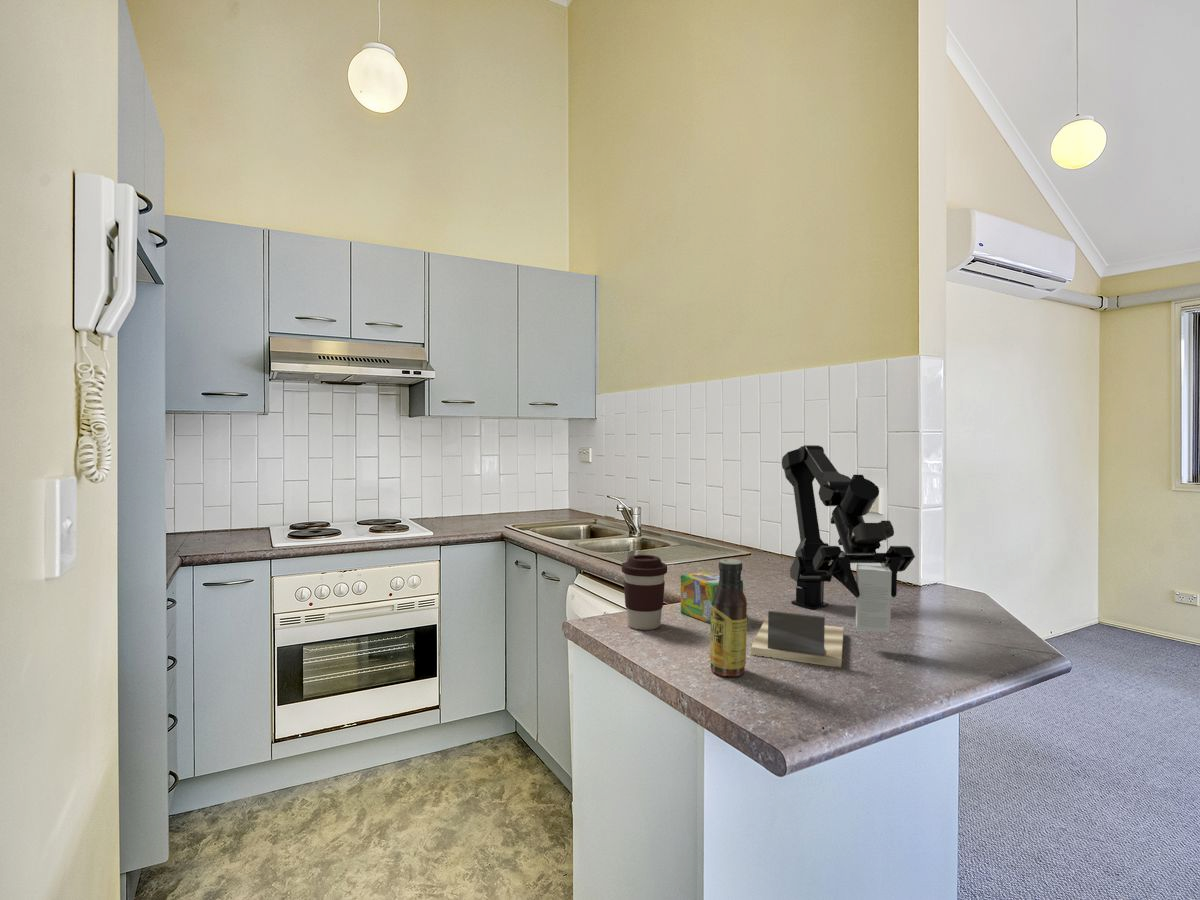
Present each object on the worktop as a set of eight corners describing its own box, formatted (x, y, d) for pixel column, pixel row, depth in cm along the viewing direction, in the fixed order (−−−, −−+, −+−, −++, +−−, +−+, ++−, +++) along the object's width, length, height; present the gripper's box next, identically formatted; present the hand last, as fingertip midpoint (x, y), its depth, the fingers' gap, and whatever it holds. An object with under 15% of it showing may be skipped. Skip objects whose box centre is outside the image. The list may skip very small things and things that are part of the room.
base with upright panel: (765, 624, 136) (765, 586, 135) (843, 634, 129) (844, 594, 129) (751, 654, 117) (751, 610, 117) (841, 667, 111) (842, 621, 111)
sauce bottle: (705, 665, 111) (707, 556, 111) (739, 664, 112) (740, 556, 111) (715, 680, 105) (716, 564, 104) (751, 679, 105) (752, 564, 105)
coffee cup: (653, 635, 128) (654, 564, 127) (612, 627, 133) (613, 558, 133) (674, 623, 136) (674, 556, 136) (634, 616, 141) (635, 551, 141)
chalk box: (679, 574, 144) (724, 587, 131) (708, 570, 149) (754, 582, 136) (679, 614, 144) (724, 630, 132) (708, 608, 149) (754, 623, 136)
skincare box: (887, 627, 121) (889, 566, 120) (890, 633, 117) (892, 571, 116) (854, 623, 123) (856, 563, 122) (856, 630, 119) (857, 568, 118)
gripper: (819, 505, 122) (842, 574, 112) (911, 506, 123) (942, 574, 113) (804, 537, 130) (823, 604, 120) (890, 537, 131) (917, 604, 121)
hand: (876, 596), depth 118 cm, fingers closed on skincare box, 7 cm apart
